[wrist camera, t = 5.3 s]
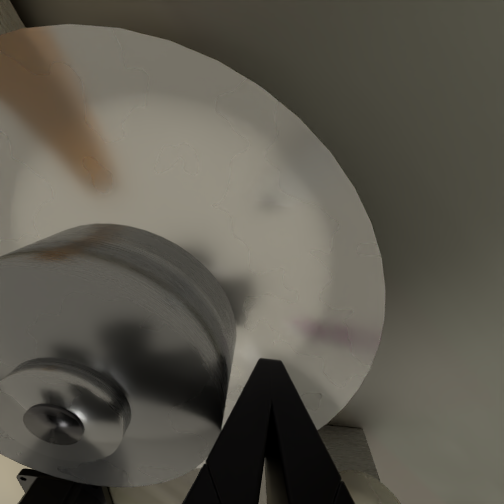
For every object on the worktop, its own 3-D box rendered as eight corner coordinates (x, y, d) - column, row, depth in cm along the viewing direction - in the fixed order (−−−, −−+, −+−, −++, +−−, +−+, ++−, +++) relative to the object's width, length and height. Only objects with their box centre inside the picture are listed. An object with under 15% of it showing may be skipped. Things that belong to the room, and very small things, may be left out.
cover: (233, 408, 11) (218, 525, 7) (54, 390, 11) (-39, 496, 8) (240, 233, 7) (219, 300, 4) (-12, 214, 8) (-222, 265, 4)
